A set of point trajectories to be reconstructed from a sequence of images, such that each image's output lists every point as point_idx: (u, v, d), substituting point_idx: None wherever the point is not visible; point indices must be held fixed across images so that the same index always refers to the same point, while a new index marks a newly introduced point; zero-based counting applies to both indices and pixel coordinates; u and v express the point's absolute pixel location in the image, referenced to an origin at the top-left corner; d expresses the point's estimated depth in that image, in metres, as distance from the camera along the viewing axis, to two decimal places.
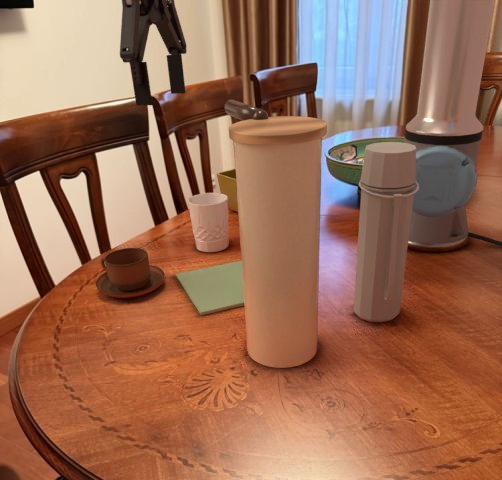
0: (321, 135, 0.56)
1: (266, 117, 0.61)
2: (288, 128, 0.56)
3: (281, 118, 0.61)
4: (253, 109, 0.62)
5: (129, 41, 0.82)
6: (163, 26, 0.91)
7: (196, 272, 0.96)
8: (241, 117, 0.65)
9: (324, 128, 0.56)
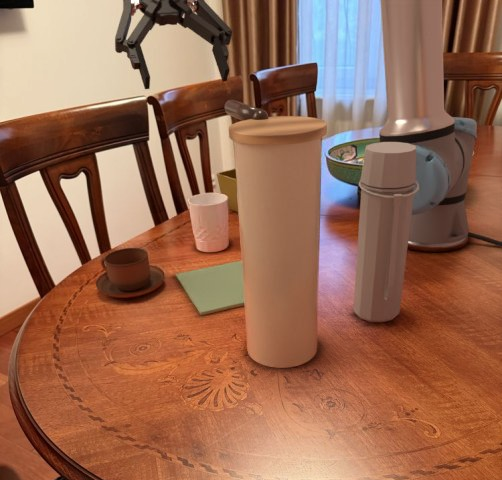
0: (321, 135, 0.56)
1: (266, 117, 0.61)
2: (288, 128, 0.56)
3: (281, 118, 0.61)
4: (253, 109, 0.62)
5: None
6: (190, 22, 0.89)
7: (196, 272, 0.96)
8: (241, 117, 0.65)
9: (324, 128, 0.56)
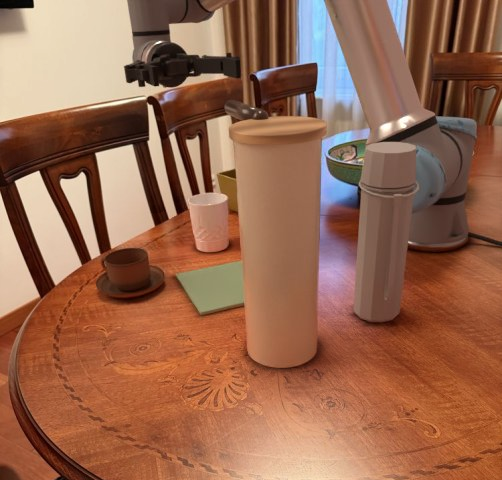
0: (321, 135, 0.56)
1: (266, 117, 0.61)
2: (288, 128, 0.56)
3: (281, 118, 0.61)
4: (253, 109, 0.62)
5: None
6: (199, 65, 0.92)
7: (196, 272, 0.96)
8: (241, 117, 0.65)
9: (324, 128, 0.56)
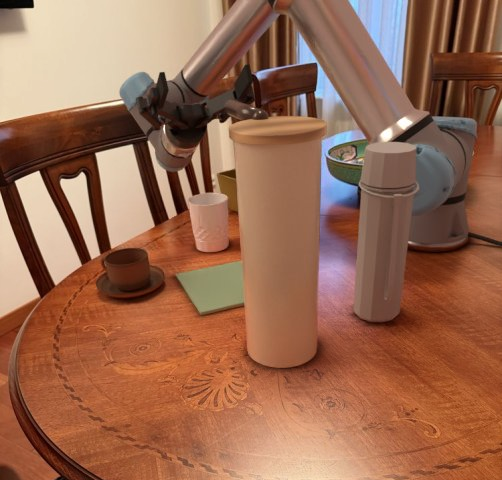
0: (321, 135, 0.56)
1: (266, 117, 0.61)
2: (288, 128, 0.56)
3: (281, 118, 0.61)
4: (253, 109, 0.62)
5: None
6: (213, 105, 0.91)
7: (196, 272, 0.96)
8: (241, 117, 0.65)
9: (324, 128, 0.56)
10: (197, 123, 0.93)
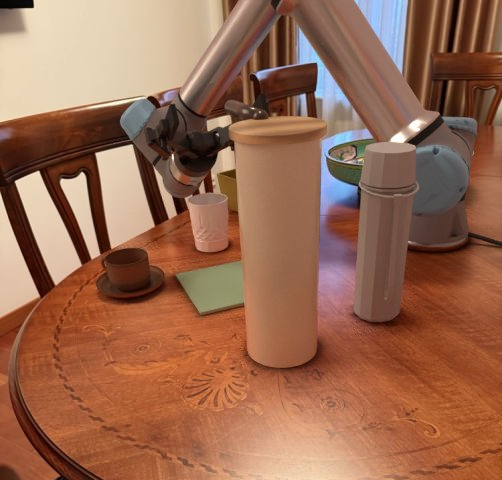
0: (321, 135, 0.56)
1: (266, 117, 0.61)
2: (288, 128, 0.56)
3: (281, 118, 0.61)
4: (253, 109, 0.62)
5: None
6: (225, 133, 0.86)
7: (196, 272, 0.96)
8: (241, 117, 0.65)
9: (324, 128, 0.56)
10: (208, 152, 0.88)
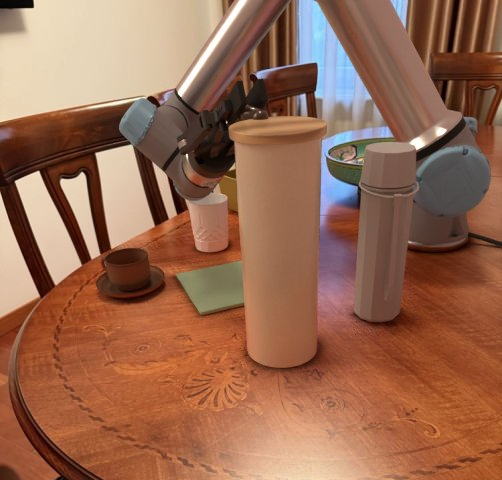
0: (321, 135, 0.56)
1: (266, 117, 0.61)
2: (288, 128, 0.56)
3: (281, 118, 0.61)
4: (253, 109, 0.62)
5: (197, 123, 0.70)
6: None
7: (196, 272, 0.96)
8: (241, 117, 0.65)
9: (324, 128, 0.56)
10: None
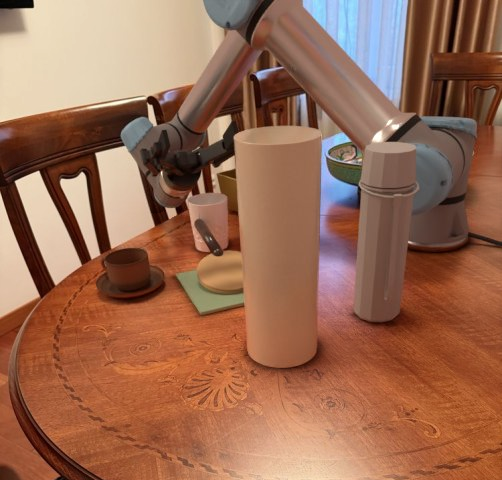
0: None
1: (222, 254, 0.93)
2: (234, 277, 0.89)
3: (231, 255, 0.93)
4: (213, 246, 0.94)
5: None
6: (205, 153, 0.98)
7: (196, 272, 0.96)
8: (205, 243, 0.96)
9: None
10: (192, 170, 1.00)
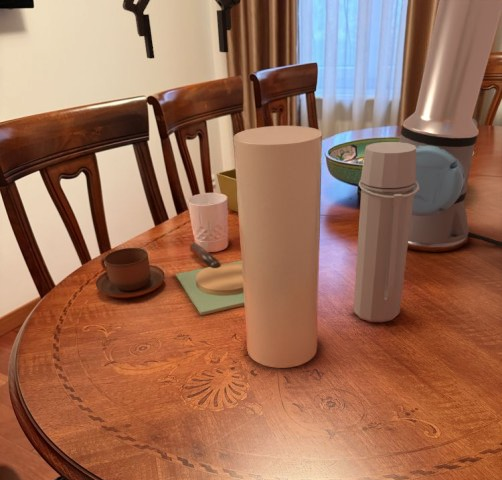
0: None
1: (219, 266, 0.95)
2: (233, 281, 0.89)
3: (229, 266, 0.95)
4: (210, 259, 0.95)
5: None
6: None
7: (196, 272, 0.96)
8: (202, 261, 0.98)
9: None
10: None
